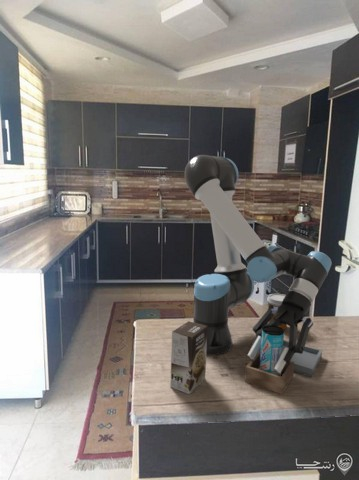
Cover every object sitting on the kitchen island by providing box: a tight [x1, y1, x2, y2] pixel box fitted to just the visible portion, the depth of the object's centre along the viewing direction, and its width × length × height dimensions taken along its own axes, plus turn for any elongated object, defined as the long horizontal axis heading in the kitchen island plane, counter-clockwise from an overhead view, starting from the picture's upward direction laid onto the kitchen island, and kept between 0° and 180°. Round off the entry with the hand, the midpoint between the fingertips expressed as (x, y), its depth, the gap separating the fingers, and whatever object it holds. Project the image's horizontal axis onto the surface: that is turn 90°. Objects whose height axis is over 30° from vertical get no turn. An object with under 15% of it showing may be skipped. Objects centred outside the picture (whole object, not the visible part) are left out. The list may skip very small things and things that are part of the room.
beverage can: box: [259, 325, 285, 376], centre depth 99 cm, size 6×6×15 cm
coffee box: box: [169, 320, 208, 395], centre depth 96 cm, size 9×6×16 cm
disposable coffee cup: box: [266, 293, 288, 331], centre depth 135 cm, size 10×10×12 cm
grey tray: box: [258, 339, 323, 378], centre depth 112 cm, size 18×14×2 cm
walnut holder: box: [244, 352, 295, 395], centre depth 100 cm, size 11×11×4 cm
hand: (263, 363), depth 97 cm, fingers open, 8 cm apart
